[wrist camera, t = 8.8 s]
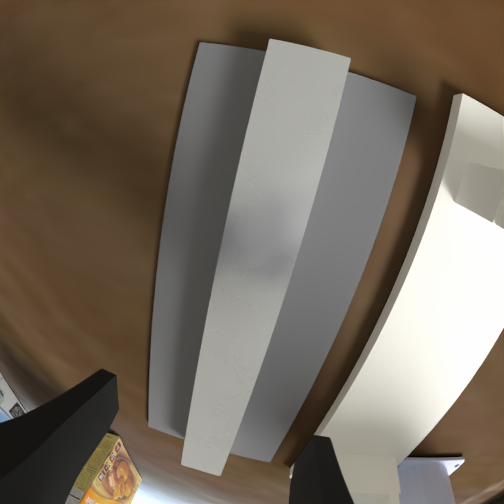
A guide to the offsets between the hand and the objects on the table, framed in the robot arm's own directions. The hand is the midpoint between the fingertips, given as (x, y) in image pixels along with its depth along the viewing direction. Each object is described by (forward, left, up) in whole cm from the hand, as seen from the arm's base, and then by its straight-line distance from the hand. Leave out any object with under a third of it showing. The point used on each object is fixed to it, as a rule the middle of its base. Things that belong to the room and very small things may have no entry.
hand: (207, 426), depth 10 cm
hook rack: (0, -11, -8) cm, 13 cm away
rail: (0, 0, -7) cm, 7 cm away
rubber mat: (0, 0, -8) cm, 8 cm away
